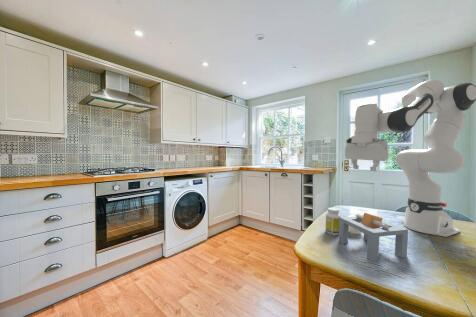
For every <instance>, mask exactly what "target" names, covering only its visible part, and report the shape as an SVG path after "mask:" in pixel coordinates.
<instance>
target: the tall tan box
mask: <svg viewBox="0 0 476 317" xmlns="http://www.w3.org/2000/svg"><path fill="white" fill-rule="evenodd" d="M362 215H363V219H362V223H361V224H363V225H365V226H368V227H370V228H372V229H377V228H381V227H379V226H377V225H375V224H372V220H376V221H379V222H382V220H383V219H384V218H383V217H380V216H378V215H375V214H371V213H367V212H364V213H363V214H362ZM360 232H362V231H360ZM361 234H363V235H364V234H366V233H364V232H362V233H361Z"/></svg>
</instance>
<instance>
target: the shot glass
mask: <svg viewBox="0 0 476 317" xmlns="http://www.w3.org/2000/svg"><path fill="white" fill-rule="evenodd" d="M351 216H356V214H347V215H346V217H351ZM359 223H362V222H359ZM348 233H351V234H355V235H361V234H363V233H362V232H360V231H359V230H357V229H355V228H353V227H351V226H349V228H348Z"/></svg>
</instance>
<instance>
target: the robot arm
mask: <svg viewBox="0 0 476 317" xmlns="http://www.w3.org/2000/svg"><path fill="white" fill-rule="evenodd" d="M475 101H476V85H475V84H473V83H471V82H464V83H458V84H456V85H451V86H447V87H445V85H444V83H443V82H442V81H441V80H439V79H433V78H432V79H428V80H425V81H423V82H420V83H419V84H416V85H415V86H413V87H412V88H410V89H409V90H408V91H405V93H404V94H403V95H402V97H401V104H402V106H401V107H398V108H395V109H390V110H385V111H384V110H382V109H381V108H380V107H378V103H376V102H369V103H363V104H360V105H359V106H357V108H356V111H355V116H354V127H355V130H354V135H352V136H350V137H348V138H347V139H345V144H346V145H345V148H344V149H345V150H344V157H345V159H346V160H351V161H350V162H351V164H352V167H353V168H352V169H353V170H359V169H360V168H359V167H360V166H359V165H358V163H357V162H358V160H360V161H372V165H371V166H370V171H371V172H377V169H378V166H379V164H380V162H387V161H388V160H389V156H390V154H389V146H388V141H387V139H385V138H378V134H384V133H385V134H386V133H404V132H406V133H407V132H409V131H410V130H411V129H413V128H414V127H415V125H416V123H417V122H418V120H419V119H420V118H421V117H422V116H423V115H425V114H427V115H428V114H434V113H437V115H436V117H435V118H434V120H433V121H432V122H431V124H429V125H430V126H429V127H428V129H427V131H426V133H425V134H424V135H423V141H424V143H425V145H426V146H428V148H427V149H425V148H424V149H418V148H416V149H415V148H414V149H413V148H412V149H405V150H402V151H400V152H398V153H397V155H395V156H396V157H395V164H396V165H397V167H398V168H400V170H402V171H403V172H404V174H405V175H406V178H407V181H408V188H409V189H408V190H409V197H408V198H407V205H408V206H407V207H406V208H405V214H404V219H403V220H402V221H401V223H403V226H404V228H406V229H408V230H411V231H415V232H418V233H419V232H420V233H423V234H429V235H434V236H438V237H439V236H440V237H445V238H447V237H450V236H453V235H455V234H458V233H460V232H461V229H459V228H457V227H454V219H453V218H452V217H451V216H450V215H449V214H448V213H446V211H444V208H446V207H447V202H442V201H441V194H442V192H441V191H442V188H441V186H440V185H441V184H439V183H438V182H437V181H435V180H433V179H432V178H431V177H430V175H429V173H433V174H455V173H456V174H457V173H458V172H460V171H461V170H462V169H463V167H464V166H465V161H466V160H465V157H464V156H463V154H462V153H461V152H459V151H458V150H456V149H455V142H456V140H457V138H458V136H459V135H460V132H461V131H462V128H463V125H464V124H465V118H466V115H465V113H464V112H463V111H467V110H468V109H470V108H472V107H471V106H472V105H473V104H475Z"/></svg>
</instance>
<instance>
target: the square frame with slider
mask: <svg viewBox="0 0 476 317" xmlns="http://www.w3.org/2000/svg"><path fill="white" fill-rule="evenodd" d="M355 215H356V216H351V217H347V216H341V217H340V218H339V235H338V242H340V244H341V243H342V244H348V243H349V231H348V228H349V226H351V227H353V228H355V229H357V230H359V231H362V232H364V233H366V234H364V233H363V239H364V240H366V259H367V260H369V261H370V262H372V263H373V262H374V263H375V262H379V252H380V251H379V250H380V249H379V248H380V237H388V236H390V237H391V236H395V244H394V255H396V256H397V257H399V258H401V259H403V258H408V241H409V228H406V227H403V226H400V225H398V224H395V223H391V222H389V221H387V220H383V219H382V222H379V221H376V220H372V224H375V225H377V226H379V227H380V228H377V229H372V228H370V227H368V226H365V225H363V224H361V223H359V222H362V219H363V215H364V214H360V213H356V214H355Z"/></svg>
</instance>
